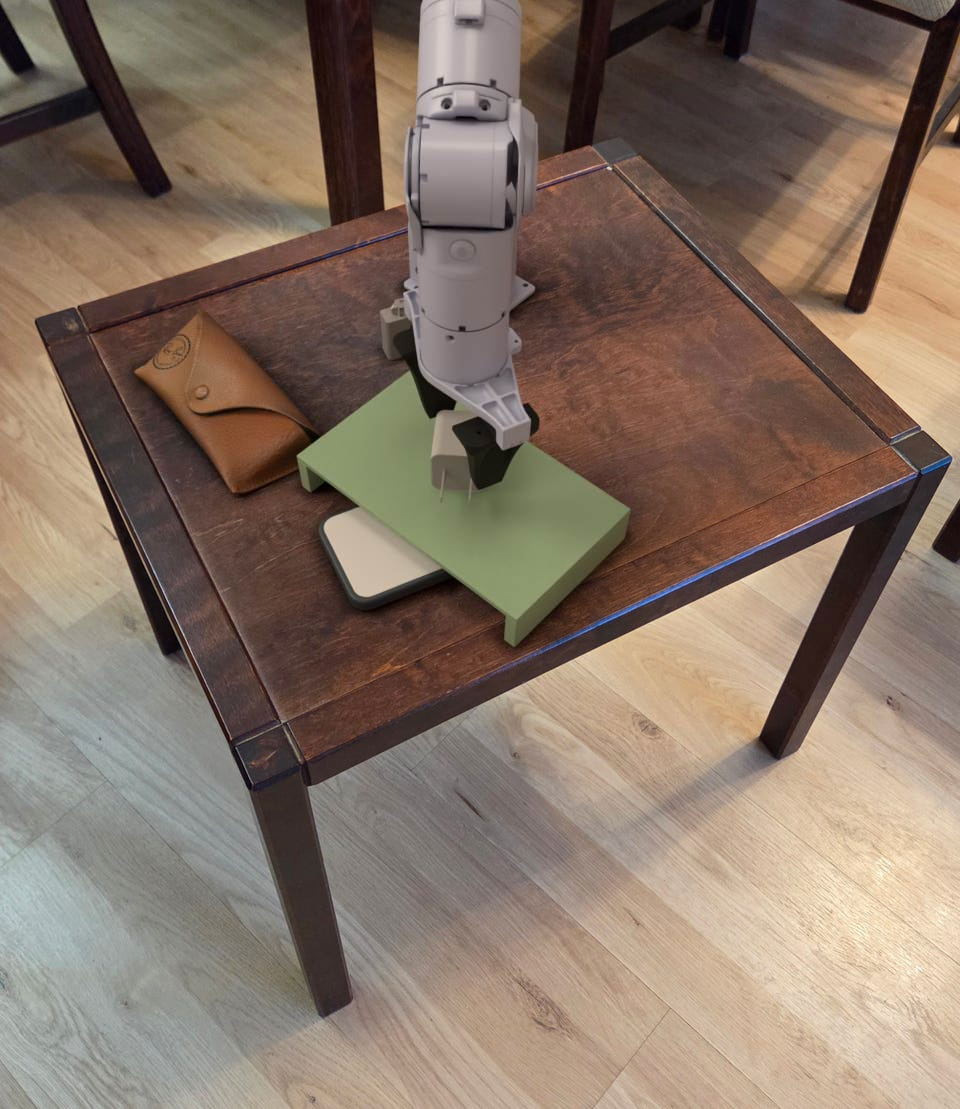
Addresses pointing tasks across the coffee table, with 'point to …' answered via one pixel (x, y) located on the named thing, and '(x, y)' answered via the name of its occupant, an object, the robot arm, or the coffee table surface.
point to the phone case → (374, 559)
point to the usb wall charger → (450, 455)
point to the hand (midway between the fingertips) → (463, 446)
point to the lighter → (393, 327)
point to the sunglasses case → (229, 405)
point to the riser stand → (471, 508)
